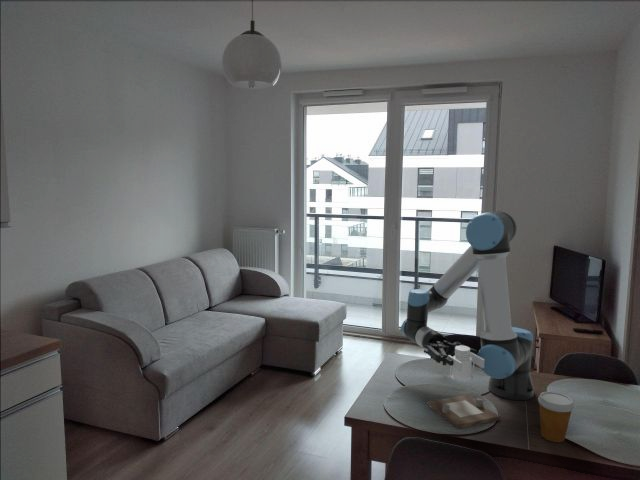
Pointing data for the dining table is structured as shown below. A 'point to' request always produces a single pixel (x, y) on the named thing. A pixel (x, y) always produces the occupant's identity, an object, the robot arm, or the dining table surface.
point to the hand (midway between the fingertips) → (472, 365)
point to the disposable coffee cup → (554, 415)
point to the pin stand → (464, 411)
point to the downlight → (463, 364)
